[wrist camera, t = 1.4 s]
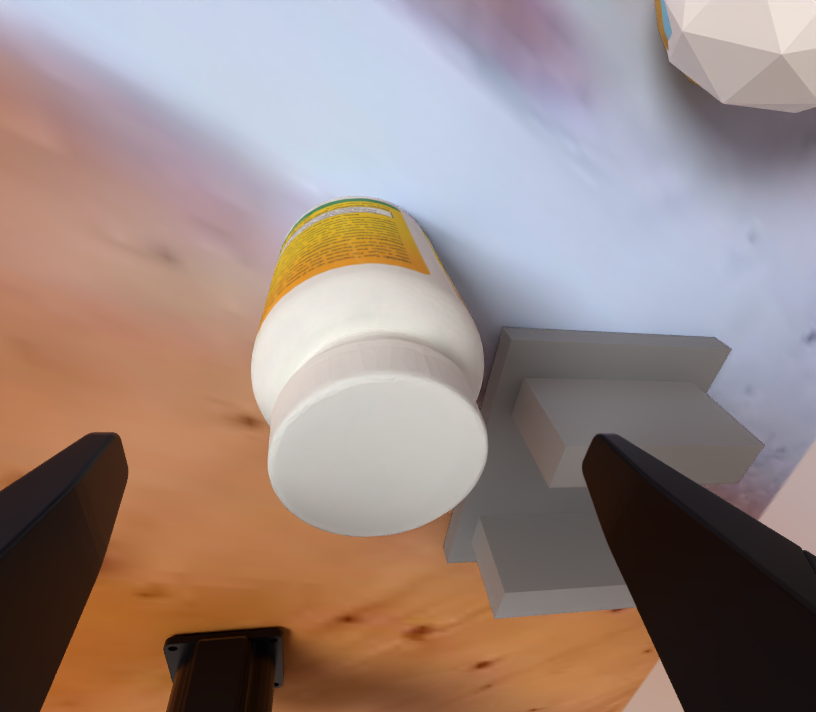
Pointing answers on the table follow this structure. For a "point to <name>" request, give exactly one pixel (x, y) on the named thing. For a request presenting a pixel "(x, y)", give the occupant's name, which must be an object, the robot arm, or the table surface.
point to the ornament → (744, 49)
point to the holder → (582, 457)
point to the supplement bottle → (368, 374)
